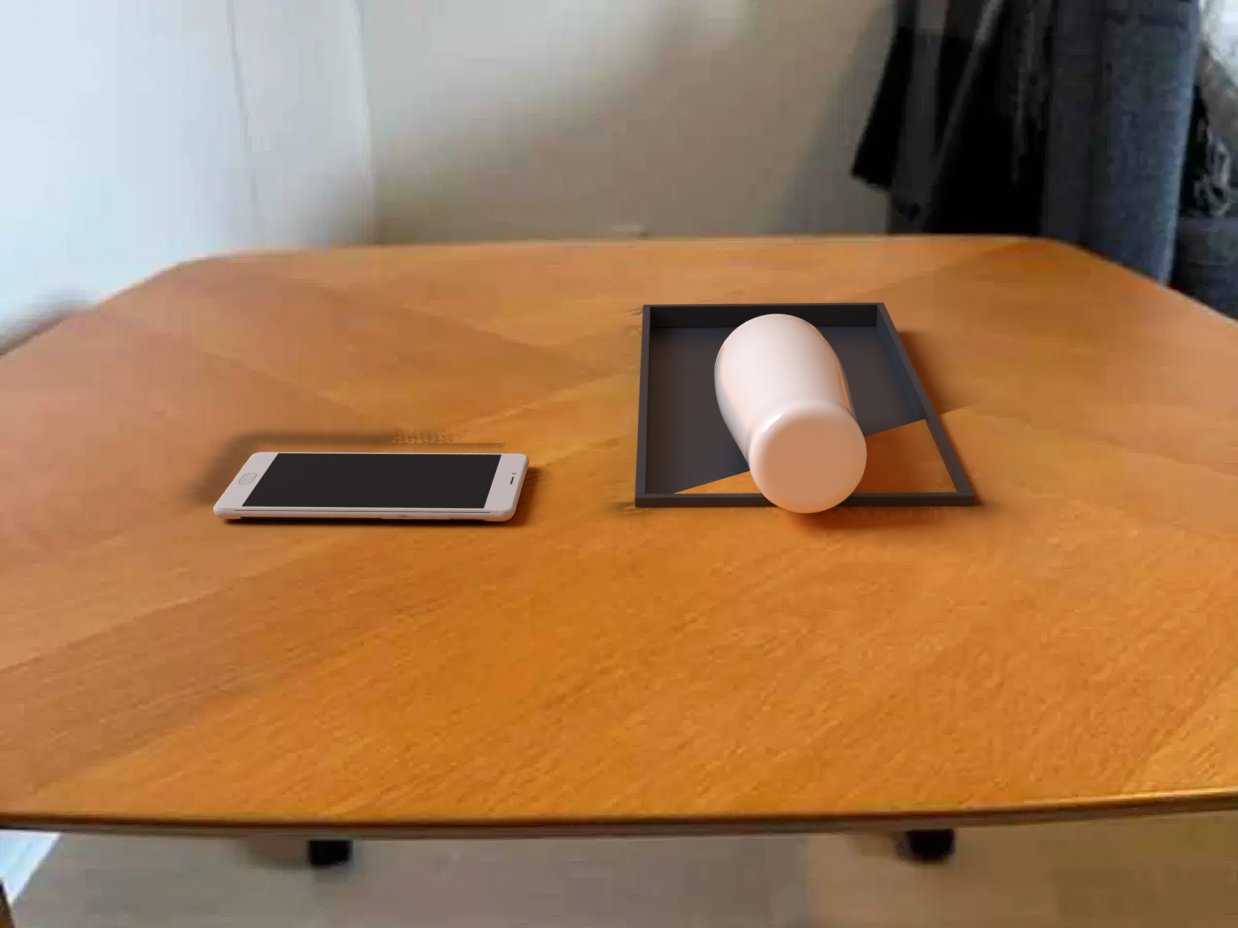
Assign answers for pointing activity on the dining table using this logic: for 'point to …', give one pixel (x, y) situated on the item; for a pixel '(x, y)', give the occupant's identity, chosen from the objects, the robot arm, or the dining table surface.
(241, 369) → the dining table surface
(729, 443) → the tray
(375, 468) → the smartphone
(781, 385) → the drinking glass
